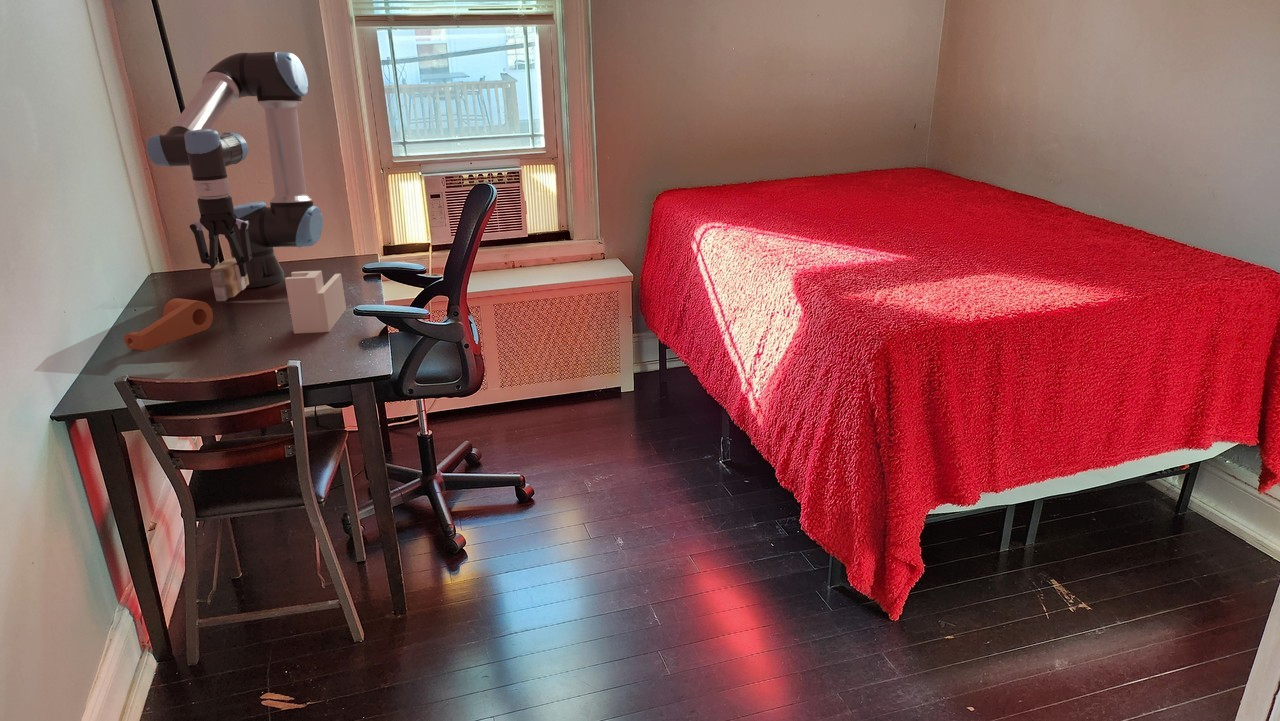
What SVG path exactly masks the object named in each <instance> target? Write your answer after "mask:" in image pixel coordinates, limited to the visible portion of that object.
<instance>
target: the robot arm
mask: <svg viewBox="0 0 1280 721" xmlns="http://www.w3.org/2000/svg"><path fill="white" fill-rule="evenodd" d="M201 80H202V81H201V87H200V89H198V91H197V92H196V94H195V95H194V97H193V98H192V99H191V100H190V101H189V103H188V104H187V106H186V107H185V108H184V109H183V110H182V112H181V113H180V115H179V116H178V117H177V119H175V121H174V123H173V124H172V125H171V126H170V128H169V129H168V130H167V131H166V133H165V134H161V133H159V134H157V135H155V134H154V135H151V136H149V137H148V139H147V141H146V153H147V156H148V157H149V160H150V161H151V162H152V163H153V164H154V165H156V166H160V167H170V168H171V167H188V166H189V167H190V172H191V175H192V176H191V177H192V181H193V182H192V183H193V187H194V190H195V195H196V197H198V198H197V200H196V201H197V205H198V210H199V214H200V218H199V221H197V222H193V223H191V224H189V229H190V230H191V232H192V233H193V235H194V239H195V243H196V247H197V250H198V254H199V258H200V262H201V263H202V265H209V266H210V271H211V270H212V269H213V268H214V267H216V266H217V265H219V264H220V263H221V262H219V261H220V260H219V236H220V235H221V236H222V235H223V236H224V238H225V239H226V240H227V242H228V246H229V251H230V256H231V258H235V259H236V261H237V263H236V265H234V266H235V271H236V275H237V280H238V285H239V290H240V292H241V291H244V290H245V289H247V288H249V289H250V288H261V287H268V286H272V285H277V284H278V283H279V284H280V283H281V282H283V281H285V278H286V277H285V272H284V270H283V268H282V265H281V264H280V263H279V260H278V259H277V257H276V255H275V251H274V248H299V249H301V248H304V247H313V246H315V245H316V244H317V243H318V242H319V241H320V239H321V236H322V232H323V226H324V220H323V219H324V218H323V214H322V211H321V209H320V207H318V206H316V205H314V201H313V198H311V197H310V196H309V195H308V194H307V185H306V178H305V168H304V160H303V158H304V157H303V152H302V150H303V149H302V142H301V141H302V140H301V135H300V134H301V132H300V124H299V115H298V114H299V113H298V108H299V107H300V106H301V105H302V104H303V101H302V100H303V99H302V97H304V96H306V95H307V94H308V92H309V90H308V88H309V80H308V75H307V73H306V70H305V67H304V65H303V64H302V62H301V60H300V58H299V57H298V56H297V55H295V54H294V53H292V52H286V51H284V52H283V51H270V52H269V51H268V52H265V51H264V52H263V51H262V52H238V53H234V54H232V55H229V56H227V57H225V58H223V59H222V60H220V61H218V62H217V63H216V64H215V65H213V66H212V67H211V68H209V70H208V71H207V72H206V73H205V74H204V76H203V77H202V79H201ZM245 97H256V99H257V103H258V105H260V106H261V107H262V108H263V109H264V116H265V124H266V132H267V141H268V150H269V160H270V167H271V175H272V183H273V184H272V185H273V191H274V192H273V193H274V195H273V197H272V198H271V199H270V200H269V205H270V206H267V204H266V202H265V201H253V202H248V203H247V202H246V203H242V204H239V205H235V206H234V203H233V199H232V198H233V197H232V196H231V195H230V194H231V188H230V183H229V182H230V181H229V179H228V178H229V177H228V174H227V168H226V167H229V166H231V165H237V164H240V162H242V161H244V160H245V159H246V158H247V156H248V154H249V145H248V143H247V140H246V139H245V138H244V137H243V136H242V135H241V134H239V133H237V132H232V131H231V132H222V133H219V131H218V130H216V129H213V127H214V126H215V125H216V124H217V122H218V121H219V119H220V117H222V115H223V113H224V112H225V110H226V109H227V108H228V106H229V105H234V104H235V103H236V102H237V101H238V100H239V99H240V98H245ZM203 228H204V229H206V231H208V239H209V243H208V244H209V245H208V246H207V242H206V238H205V235H204V231H203ZM208 247H209V249H208ZM246 275H248V280H249V284H248V285H247V286H246V284H245V279H244V277H245V276H246Z"/></svg>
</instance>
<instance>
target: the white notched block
mask: <svg viewBox="0 0 1280 721" xmlns="http://www.w3.org/2000/svg"><path fill="white" fill-rule="evenodd" d="M290 273H291V274H290V275H291V276H288V277H285V279H284V282H285V287H286V292H287V293H286V294H287V300H288V305H289V311H290V318H291V324H292V329H293V334H294V335H295V334H309V333H310V334H313V333H330V332H331V330H332V329H333V328H334V326H336V324H337V322H338V321H339V320H340V319H341V317H342V316H343V315H344V313H345V312H346V311H347V305H346V298H345V292H344V285H343V284H344V283H343V278H342V273H334V275H332V277H331V278H330V279H329V280H328V281H327V282H326V283H325V284H324V277H323V271H322V270H307V271H306V270H303V271H292V272H290ZM345 310H346V311H345ZM344 311H345V312H344ZM342 314H343V315H342Z"/></svg>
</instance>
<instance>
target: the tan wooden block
mask: <svg viewBox="0 0 1280 721" xmlns="http://www.w3.org/2000/svg"><path fill="white" fill-rule="evenodd" d="M219 263H220V264H219V265H217V266H216V267H214V268H213V269H212V270H211V269H210V273H209V274H210V278H211V283H212V288H213V292H214V297H215V302H226V301H227V300H228V299H230V298H234V297H236V296H237V295H238V294H239V293H240V292H241V291H240V290H239V285H238V280H237V275H236V271H235V266H234V265H236V263H237V261H236V259H235V258H232V257H227V258H225V259H224V260H223V261H222V262H219ZM244 279H245V284H246V286H247V285H248V284H249V280H248V275H246V276H245V277H244Z"/></svg>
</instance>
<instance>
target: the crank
mask: <svg viewBox="0 0 1280 721" xmlns="http://www.w3.org/2000/svg"><path fill="white" fill-rule="evenodd" d="M213 319H214V314H213V309H212V306H210V304H208V303H207V302H205V301H203V300H202V301H201V300H194V299H185V298H171V299H170V300H169V301H168V302H166V303H165V305H164V307H163V311H162V317H161V318H159V319H158V320H155V321H154V322H153V323H151V324H149V325H147V327H144V328H143V329H141V330H140V331H132V332H130V333H127V334H125V335H124V337H123V341H124V344H125V346H126V347H127V348H128V349H129V350H132V351H133V350H137V351H143V352H147V351H150V350H153V349H155V348H158V347H161V346H163V345H166V344H170V343H173V342H175V341H178V340H181V339H183V338H186V337H189V336H192V335H195V334H198V333H201V332H204V331H206V330H209V328H210V327H211V325H212V324H213V321H214V320H213Z"/></svg>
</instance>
